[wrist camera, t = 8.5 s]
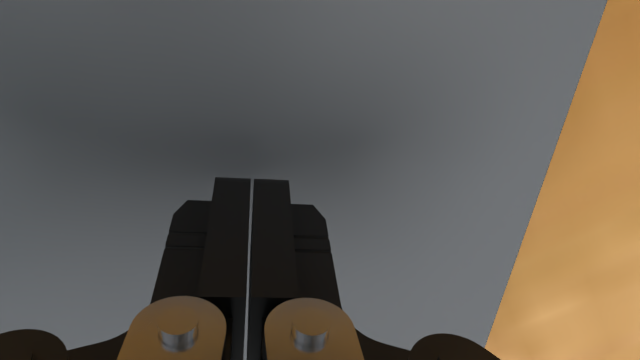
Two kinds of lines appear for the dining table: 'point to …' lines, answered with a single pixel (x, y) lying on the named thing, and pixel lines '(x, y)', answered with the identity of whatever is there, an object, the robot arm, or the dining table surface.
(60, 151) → the display board
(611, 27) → the dining table surface
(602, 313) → the dining table surface
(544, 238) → the dining table surface
